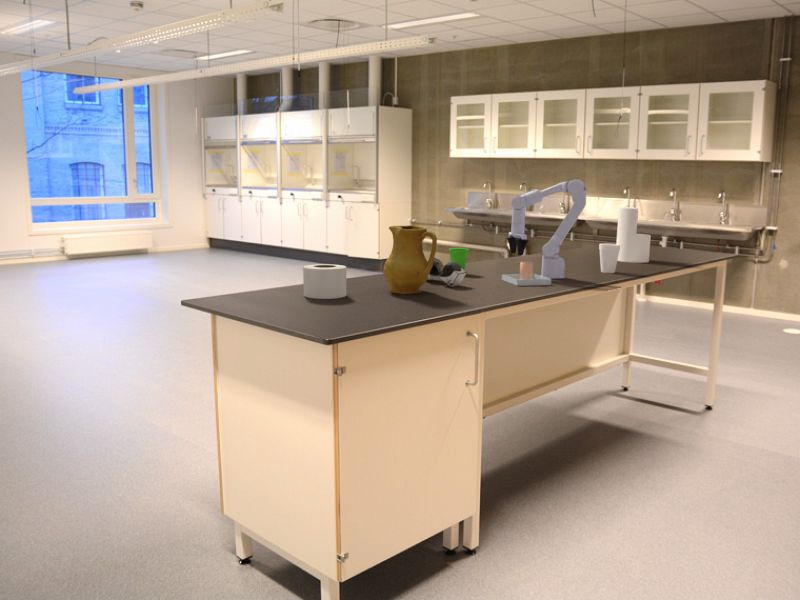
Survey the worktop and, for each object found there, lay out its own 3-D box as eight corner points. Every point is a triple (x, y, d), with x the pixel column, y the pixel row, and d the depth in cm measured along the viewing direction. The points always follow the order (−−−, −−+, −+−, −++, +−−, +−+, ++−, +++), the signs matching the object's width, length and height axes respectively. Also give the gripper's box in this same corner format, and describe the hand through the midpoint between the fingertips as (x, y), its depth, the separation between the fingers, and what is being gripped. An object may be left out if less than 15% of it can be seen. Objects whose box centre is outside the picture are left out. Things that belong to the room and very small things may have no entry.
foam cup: (620, 272, 347) (622, 244, 344) (615, 274, 339) (617, 245, 337) (601, 270, 352) (602, 243, 349) (594, 272, 344) (596, 244, 342)
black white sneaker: (414, 280, 308) (414, 256, 306) (433, 279, 313) (434, 255, 311) (450, 289, 287) (451, 263, 285) (470, 287, 292) (471, 262, 290)
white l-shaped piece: (617, 261, 387) (621, 208, 382) (613, 258, 404) (616, 206, 399) (651, 263, 384) (655, 209, 379) (646, 259, 401) (650, 207, 396)
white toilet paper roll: (299, 293, 270) (298, 263, 268) (339, 291, 276) (339, 262, 274) (309, 300, 256) (309, 269, 254) (351, 298, 261) (351, 268, 260)
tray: (534, 279, 316) (534, 274, 316) (551, 284, 302) (551, 279, 301) (501, 280, 312) (502, 274, 312) (516, 285, 298) (517, 279, 297)
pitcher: (405, 285, 290) (407, 222, 285) (440, 293, 278) (443, 227, 272) (373, 290, 279) (375, 225, 273) (408, 300, 266) (410, 231, 260)
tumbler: (528, 280, 310) (529, 261, 309) (534, 282, 305) (535, 263, 304) (517, 280, 309) (518, 261, 307) (522, 282, 304) (523, 263, 302)
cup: (468, 272, 334) (469, 248, 332) (468, 275, 325) (468, 250, 323) (448, 271, 335) (449, 247, 333) (447, 274, 326) (448, 249, 324)
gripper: (503, 222, 330) (501, 252, 332) (516, 224, 316) (515, 256, 319) (517, 222, 332) (516, 252, 334) (531, 224, 318) (530, 256, 320)
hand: (516, 254), depth 327 cm, fingers open, 7 cm apart
